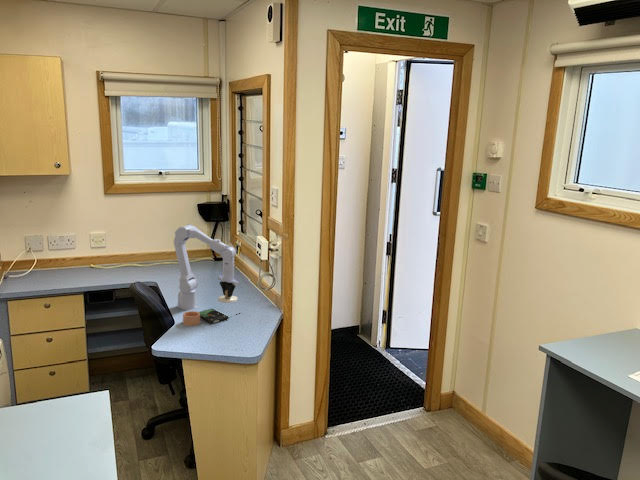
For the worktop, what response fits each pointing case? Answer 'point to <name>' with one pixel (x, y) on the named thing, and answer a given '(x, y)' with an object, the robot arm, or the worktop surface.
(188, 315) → the bowl
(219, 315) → the disk drive
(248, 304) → the worktop surface
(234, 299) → the lid
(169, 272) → the worktop surface
